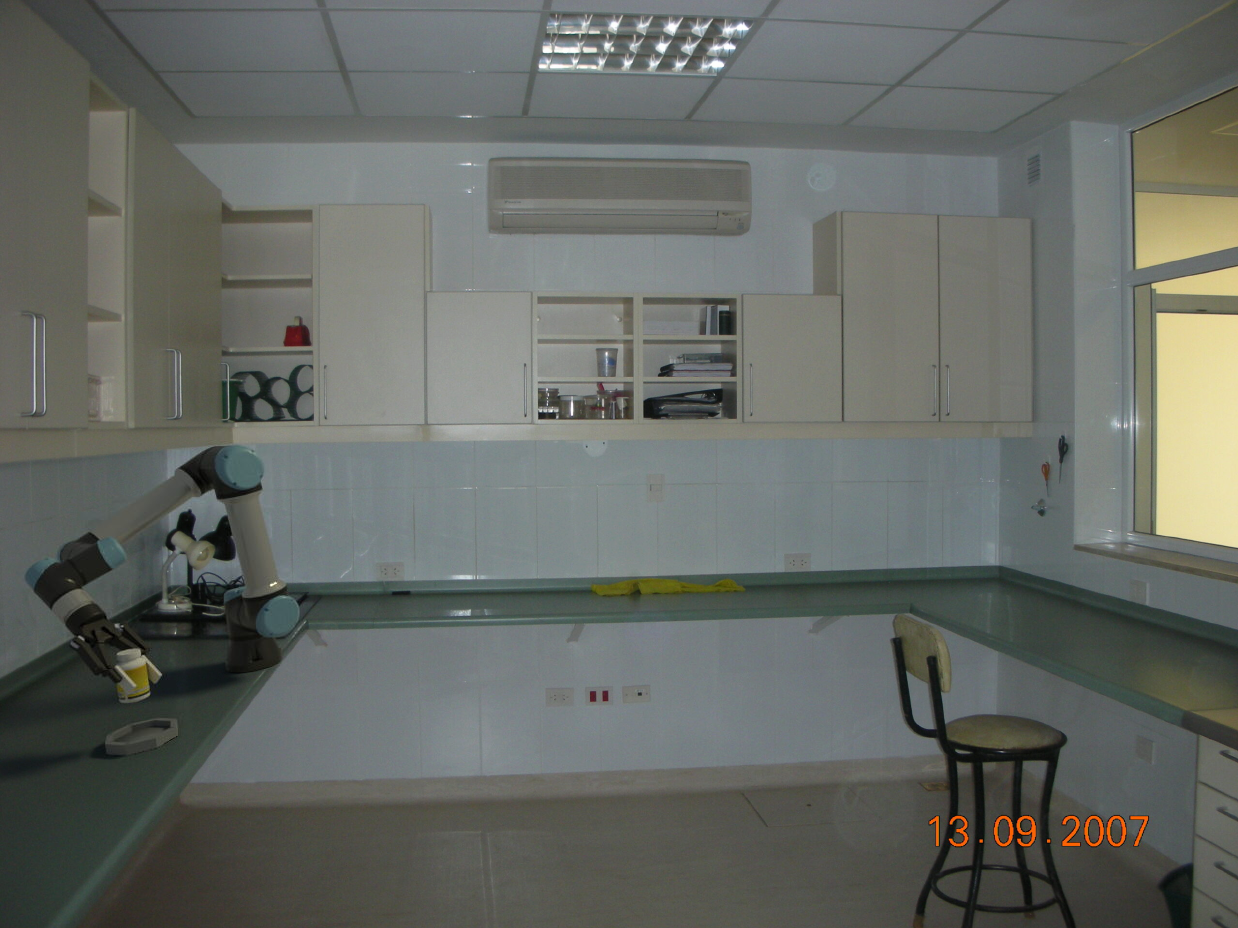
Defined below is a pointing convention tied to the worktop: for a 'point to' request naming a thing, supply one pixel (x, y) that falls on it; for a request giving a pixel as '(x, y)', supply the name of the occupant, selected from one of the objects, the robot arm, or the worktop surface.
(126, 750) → the octagonal tray
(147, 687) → the pill bottle
